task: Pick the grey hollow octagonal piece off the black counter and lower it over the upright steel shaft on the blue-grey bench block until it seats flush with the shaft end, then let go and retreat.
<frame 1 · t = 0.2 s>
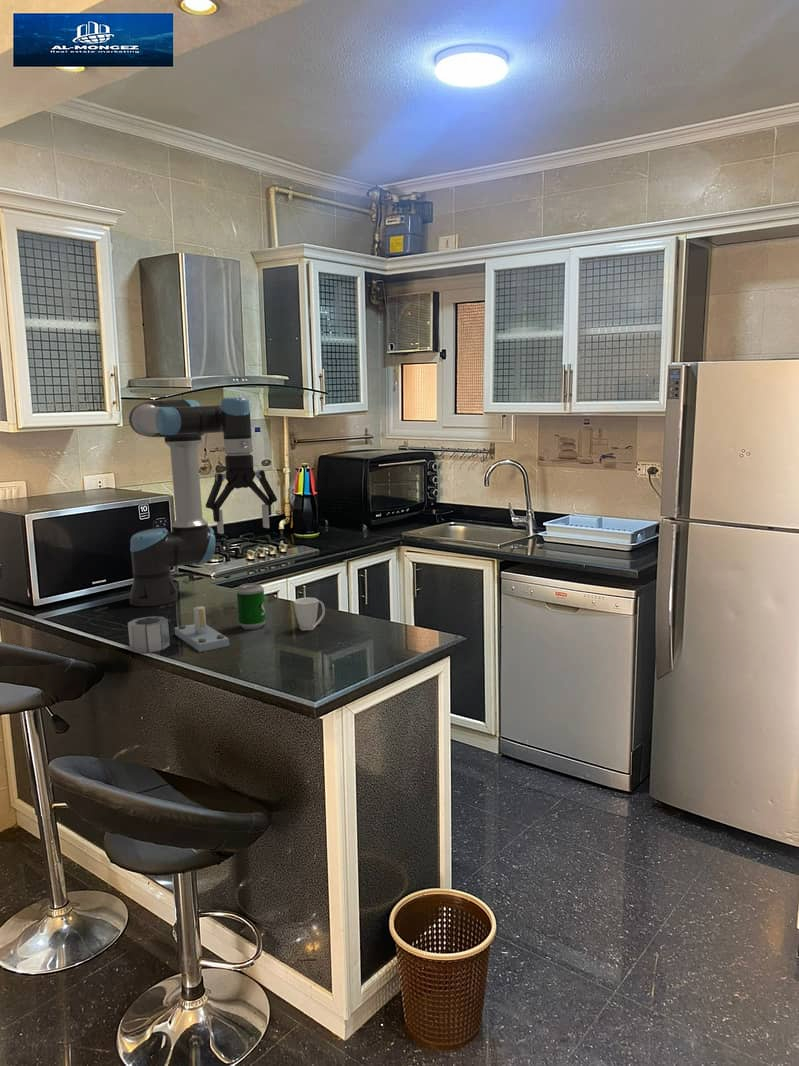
hand: (243, 530, 220), 28 cm above the counter, fingers open, 13 cm apart
cup: (311, 627, 222), on the counter
grey hollow octagonal piece: (150, 646, 208), on the counter
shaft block: (201, 640, 213), on the counter
soda can: (252, 627, 224), on the counter
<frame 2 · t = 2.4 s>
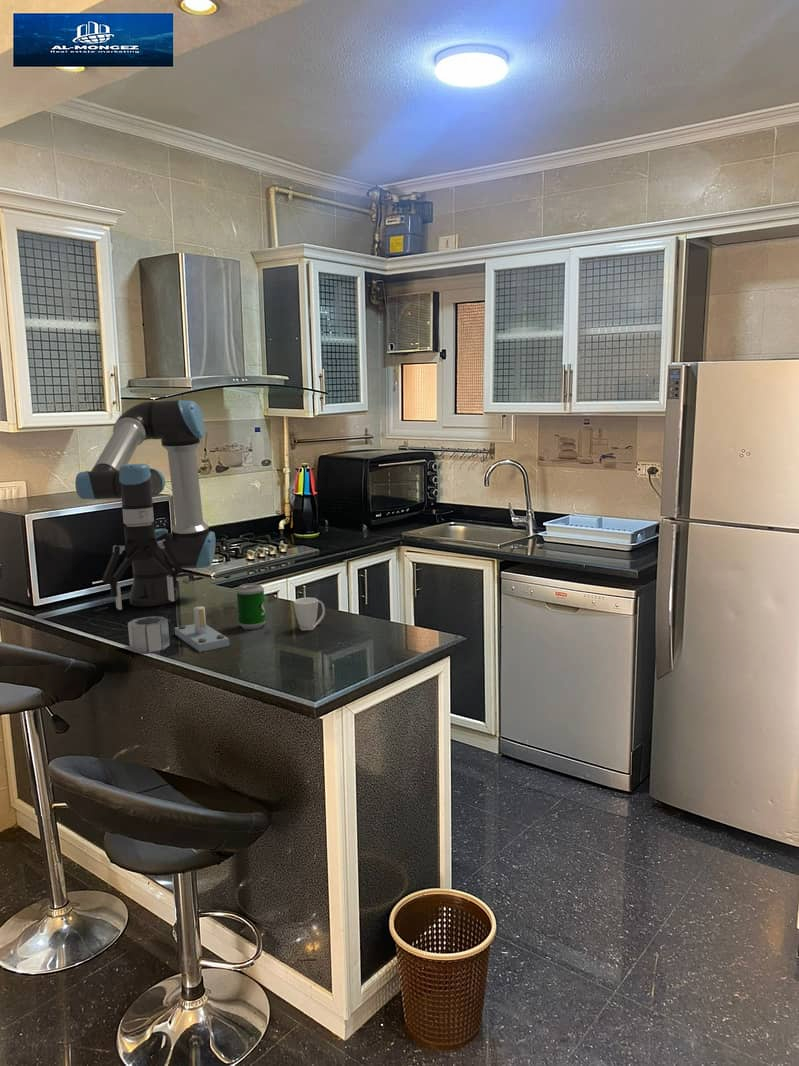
hand: (145, 604, 206), 12 cm above the counter, fingers open, 13 cm apart
nothing on the counter moved.
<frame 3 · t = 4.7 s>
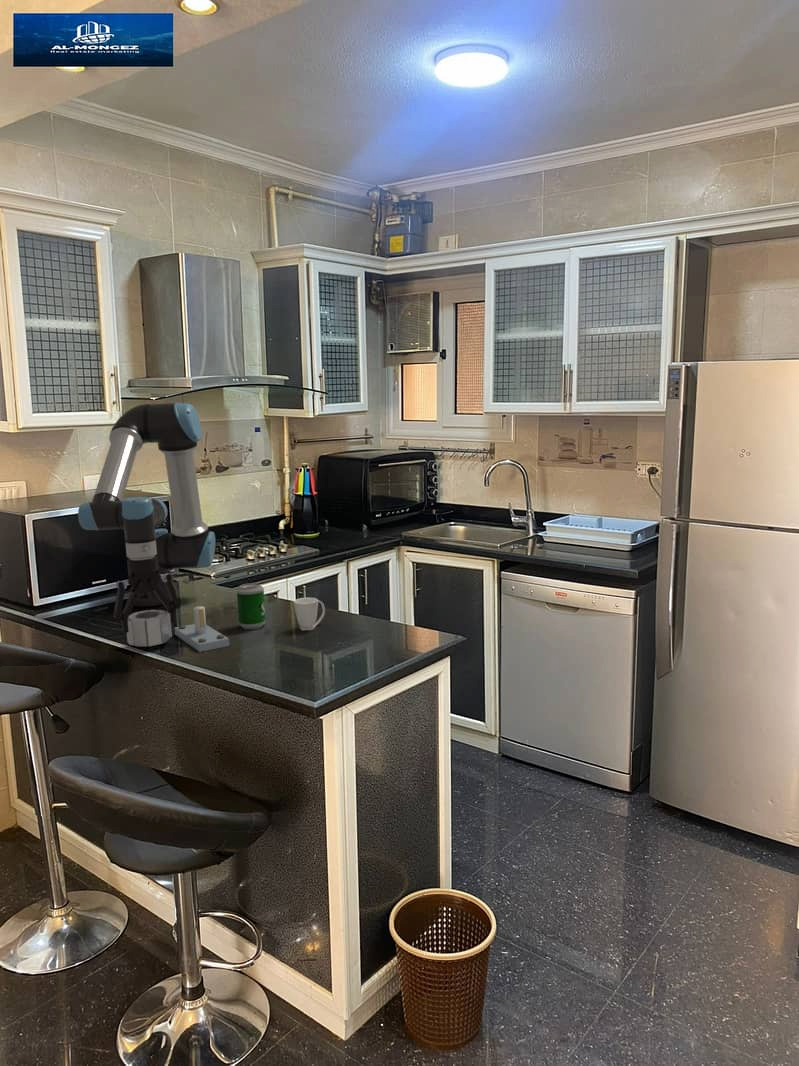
hand: (150, 639, 208), 2 cm above the counter, fingers closed on grey hollow octagonal piece, 9 cm apart
grey hollow octagonal piece: (149, 640, 209), point 2 cm above the counter, touching gripper
everything else where it was.
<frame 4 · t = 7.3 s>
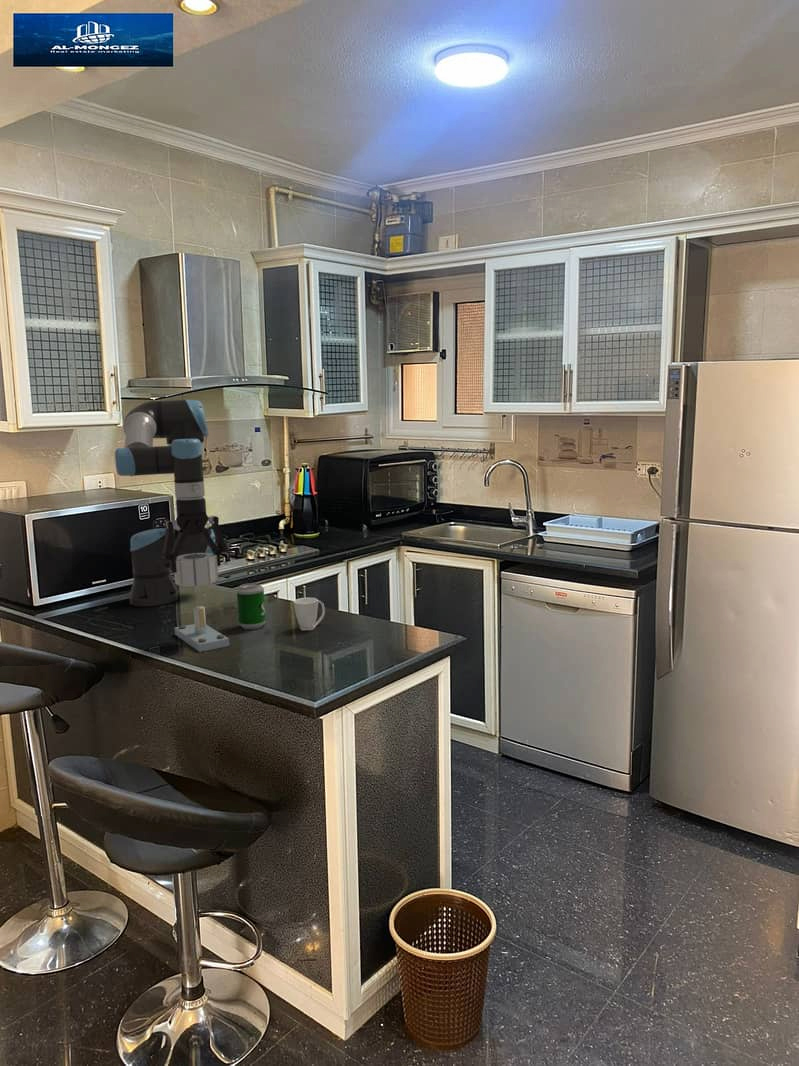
hand: (196, 581, 210), 16 cm above the counter, fingers closed on grey hollow octagonal piece, 9 cm apart
grey hollow octagonal piece: (196, 582, 210), point 16 cm above the counter, touching gripper
everything else where it was.
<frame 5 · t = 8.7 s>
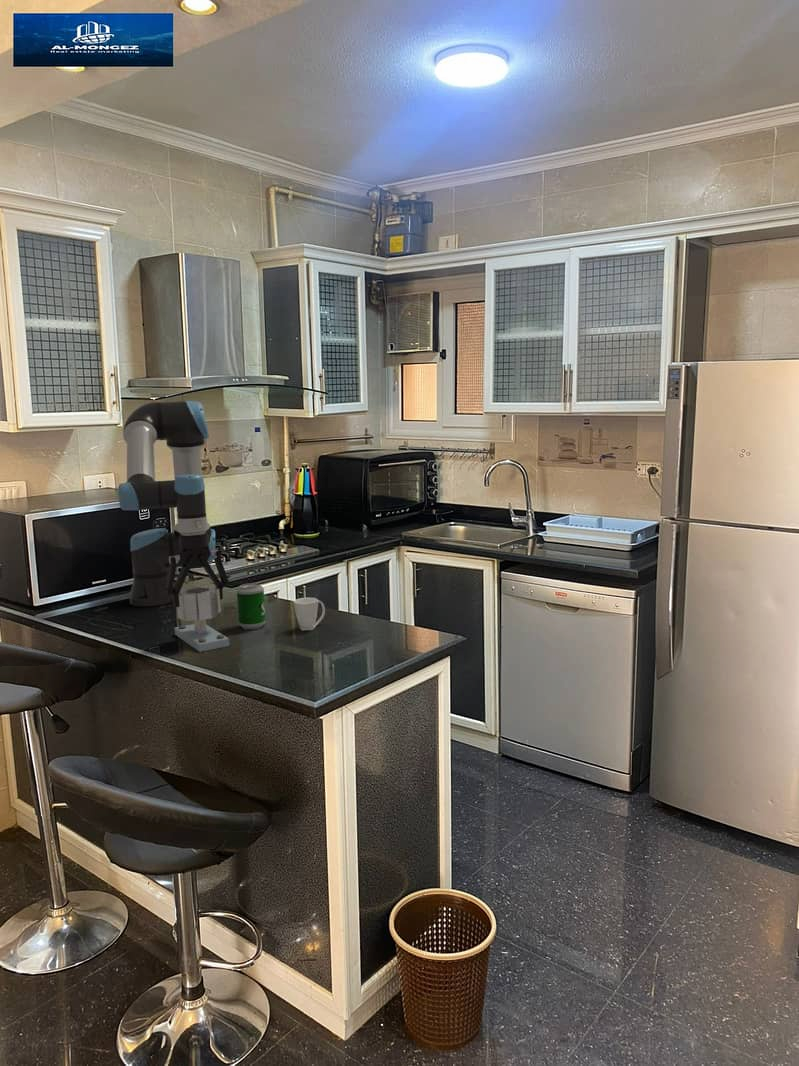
hand: (199, 615, 212), 7 cm above the counter, fingers closed on grey hollow octagonal piece, 9 cm apart
grey hollow octagonal piece: (199, 615, 212), point 7 cm above the counter, touching gripper
everything else where it was.
when the fingers open (4 cm above the counter, at t = 10.0 s): grey hollow octagonal piece drops 1 cm, resting on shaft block.
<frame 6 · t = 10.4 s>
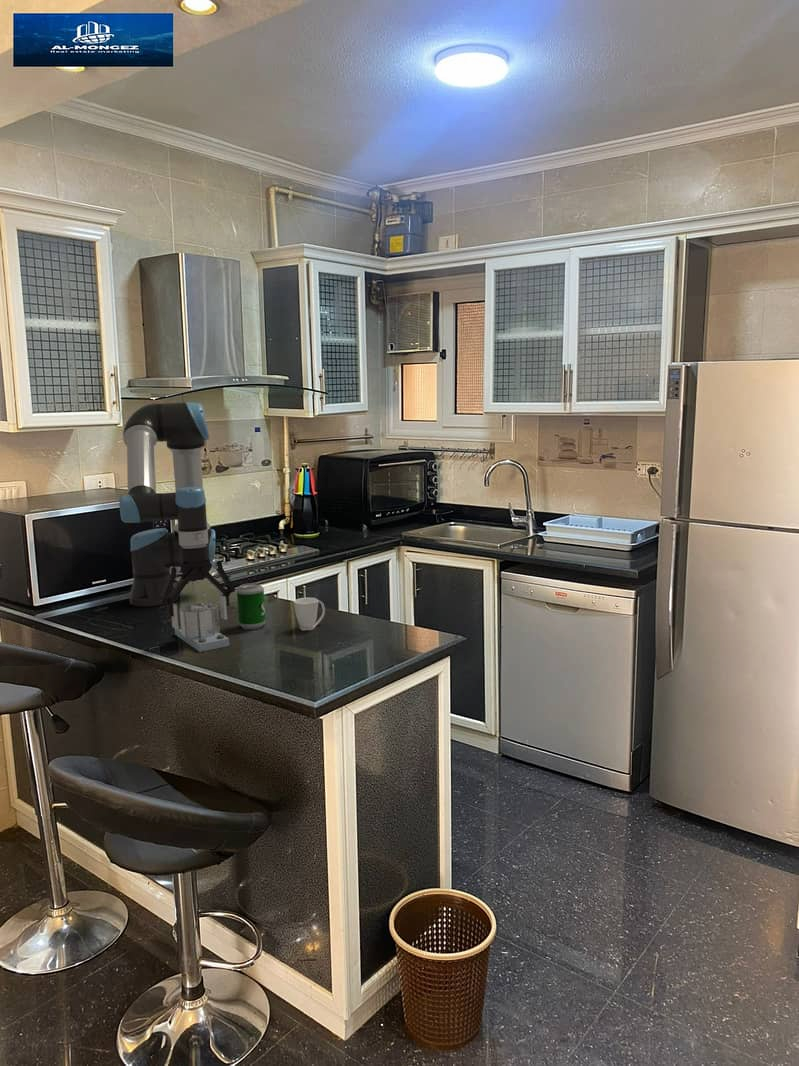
hand: (200, 623, 212), 5 cm above the counter, fingers open, 13 cm apart
grey hollow octagonal piece: (200, 632, 213), point 2 cm above the counter, touching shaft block
everything else where it was.
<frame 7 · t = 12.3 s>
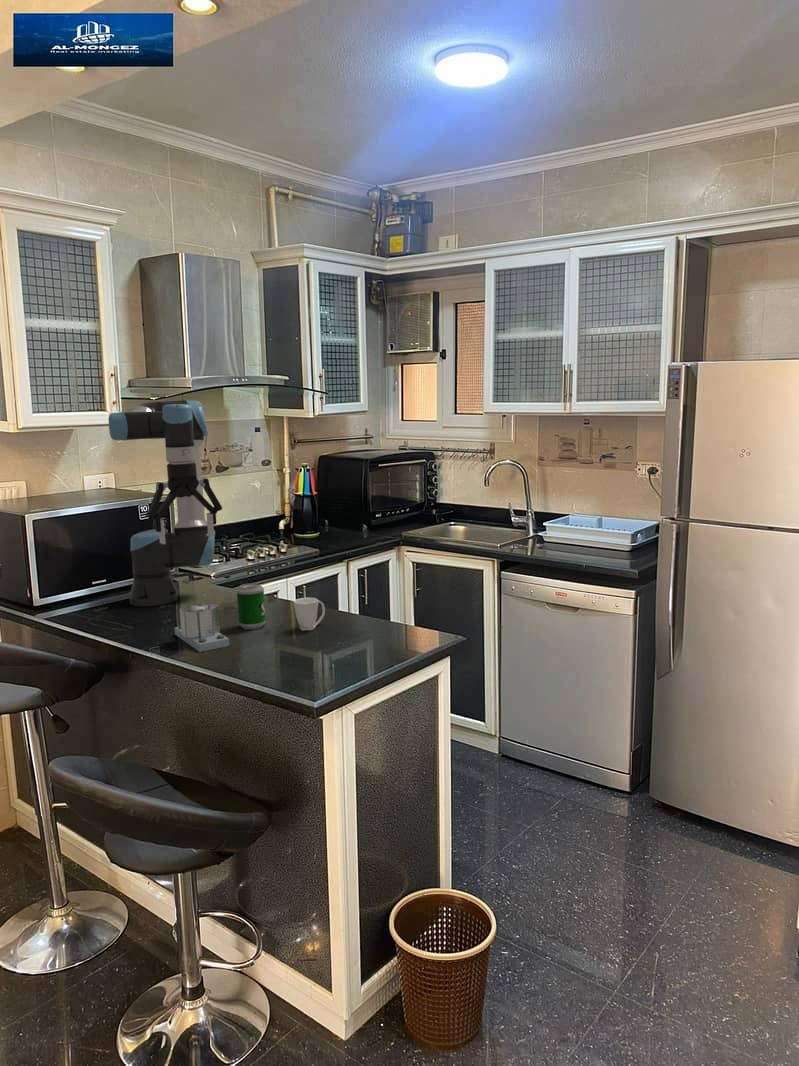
hand: (187, 540, 215), 26 cm above the counter, fingers open, 13 cm apart
nothing on the counter moved.
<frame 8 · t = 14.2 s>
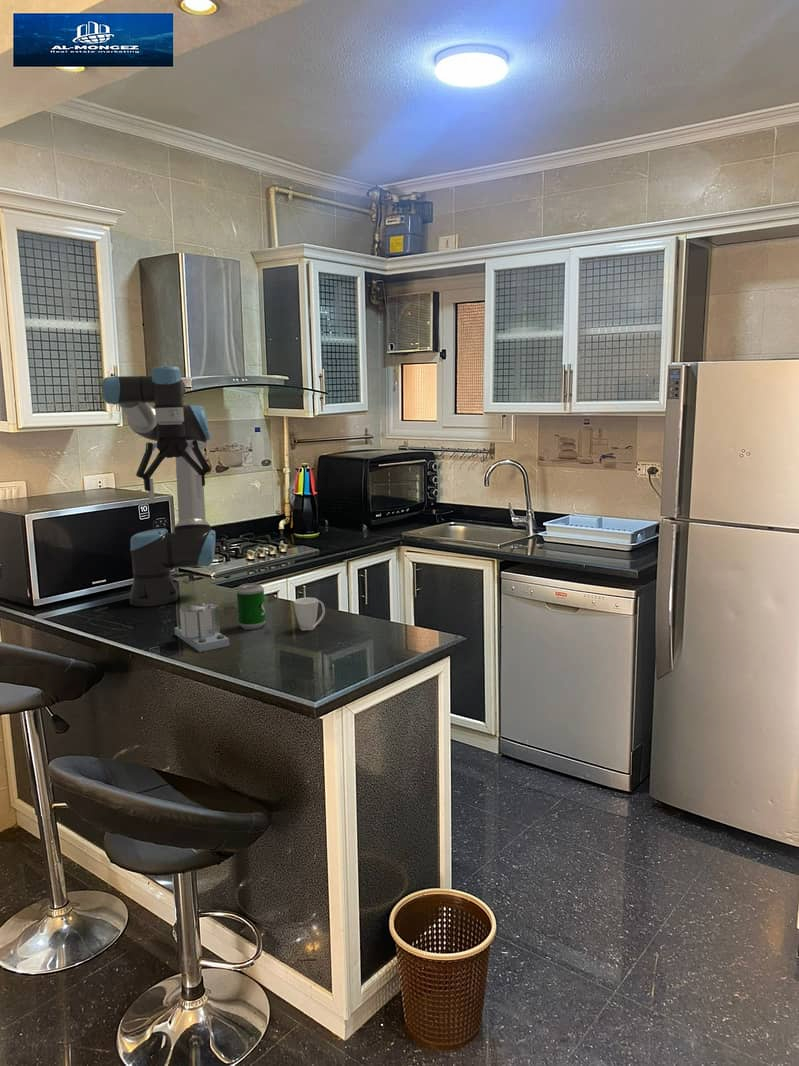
hand: (176, 500, 220), 37 cm above the counter, fingers open, 13 cm apart
nothing on the counter moved.
at the end: grey hollow octagonal piece 0.2 cm off-centre on the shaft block, point 2.0 cm above the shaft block's base; grey hollow octagonal piece tilted 0°; the gripper is holding nothing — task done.
